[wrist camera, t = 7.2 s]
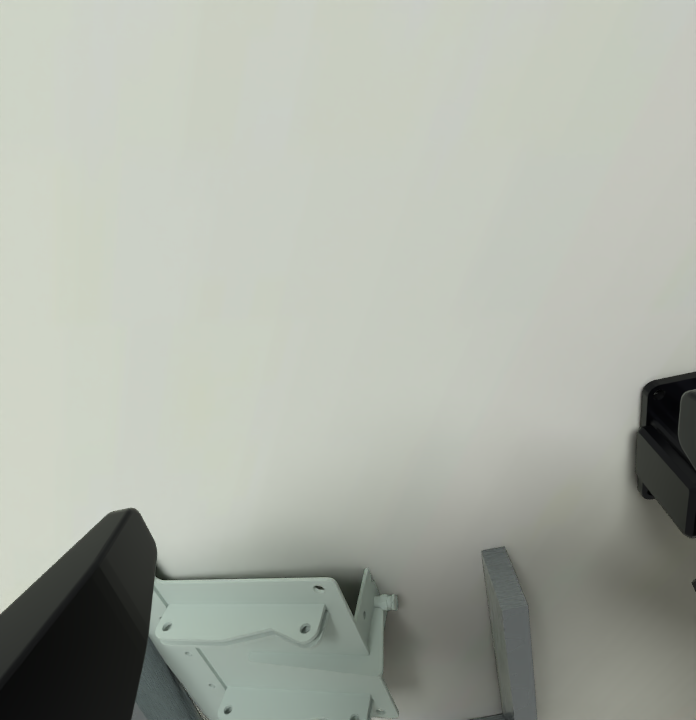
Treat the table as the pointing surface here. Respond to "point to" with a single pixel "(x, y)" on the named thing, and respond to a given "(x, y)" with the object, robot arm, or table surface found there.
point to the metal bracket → (275, 647)
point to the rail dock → (510, 637)
